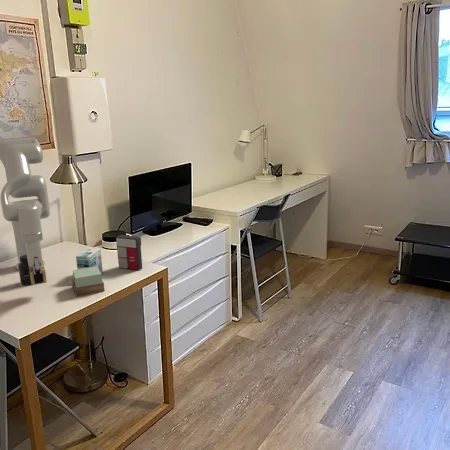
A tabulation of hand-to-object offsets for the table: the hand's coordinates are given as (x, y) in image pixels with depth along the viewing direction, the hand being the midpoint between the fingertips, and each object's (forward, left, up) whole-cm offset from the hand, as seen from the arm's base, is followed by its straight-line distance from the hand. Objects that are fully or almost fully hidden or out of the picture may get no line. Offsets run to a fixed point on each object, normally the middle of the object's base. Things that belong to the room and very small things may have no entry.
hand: (38, 279), depth 182 cm
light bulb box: (-12, +22, -7) cm, 26 cm away
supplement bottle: (-17, -3, -7) cm, 19 cm away
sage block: (+3, +18, -3) cm, 19 cm away
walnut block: (+3, +18, -7) cm, 20 cm away
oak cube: (0, 0, -1) cm, 1 cm away
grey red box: (-12, +40, -7) cm, 42 cm away
